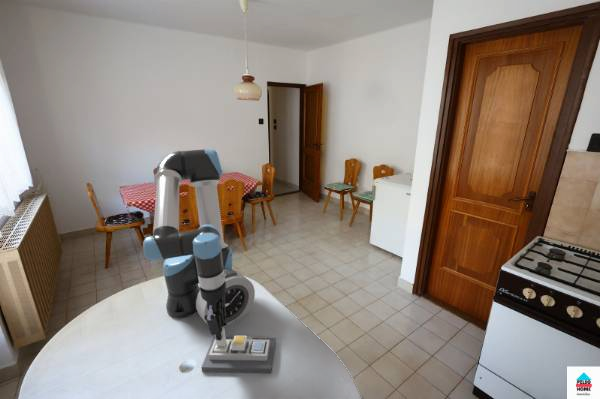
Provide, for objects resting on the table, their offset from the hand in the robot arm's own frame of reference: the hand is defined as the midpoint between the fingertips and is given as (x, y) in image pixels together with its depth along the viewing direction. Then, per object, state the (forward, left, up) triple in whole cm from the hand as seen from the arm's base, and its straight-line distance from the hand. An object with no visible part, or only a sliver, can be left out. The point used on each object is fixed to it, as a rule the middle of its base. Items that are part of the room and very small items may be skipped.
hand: (221, 344), depth 92 cm
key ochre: (+4, +4, 0) cm, 6 cm away
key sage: (0, 0, -3) cm, 3 cm away
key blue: (+9, +8, -3) cm, 12 cm away
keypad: (+4, +4, -5) cm, 8 cm away
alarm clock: (-15, +12, -6) cm, 20 cm away
